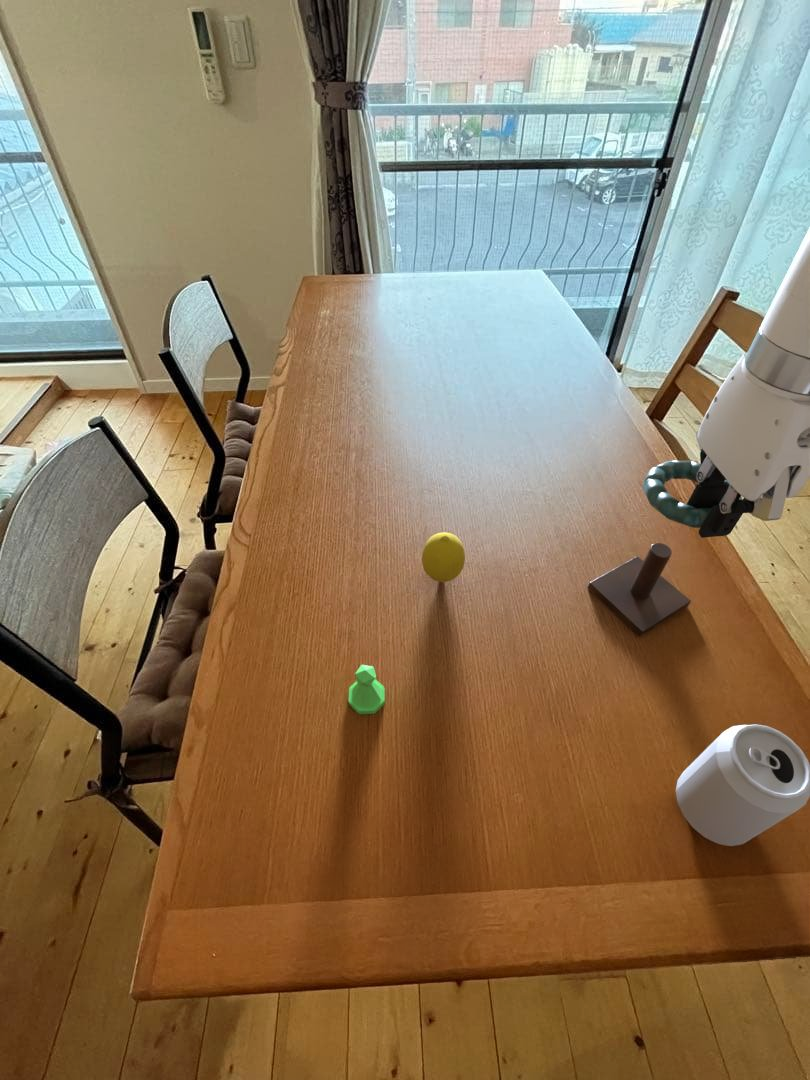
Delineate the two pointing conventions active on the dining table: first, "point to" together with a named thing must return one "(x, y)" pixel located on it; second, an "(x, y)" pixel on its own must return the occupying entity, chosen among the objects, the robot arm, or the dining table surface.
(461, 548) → the lemon
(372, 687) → the game piece
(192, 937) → the dining table surface
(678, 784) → the can
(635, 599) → the post
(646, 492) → the ring
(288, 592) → the dining table surface
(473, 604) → the dining table surface
